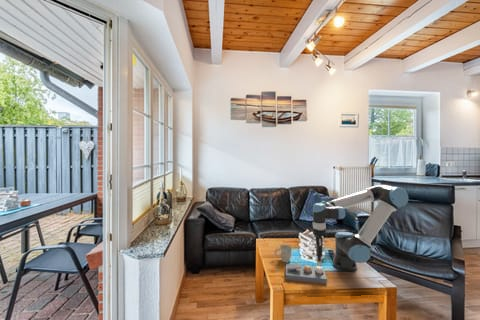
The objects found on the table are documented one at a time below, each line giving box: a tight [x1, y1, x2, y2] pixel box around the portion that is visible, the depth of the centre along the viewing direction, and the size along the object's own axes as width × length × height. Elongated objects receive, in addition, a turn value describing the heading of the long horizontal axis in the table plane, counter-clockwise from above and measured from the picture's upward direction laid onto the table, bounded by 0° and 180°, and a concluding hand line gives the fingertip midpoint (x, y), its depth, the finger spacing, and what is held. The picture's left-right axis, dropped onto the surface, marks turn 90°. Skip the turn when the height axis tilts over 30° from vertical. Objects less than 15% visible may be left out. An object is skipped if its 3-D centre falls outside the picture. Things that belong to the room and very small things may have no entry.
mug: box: [274, 244, 293, 263], centre depth 167 cm, size 8×13×10 cm, turn 78°
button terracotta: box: [303, 264, 312, 273], centre depth 145 cm, size 4×4×3 cm
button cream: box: [315, 265, 324, 275], centre depth 143 cm, size 4×4×3 cm
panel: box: [285, 263, 328, 285], centre depth 145 cm, size 24×14×4 cm, turn 78°
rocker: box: [288, 262, 302, 270], centre depth 147 cm, size 8×5×1 cm, turn 77°
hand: (319, 265), depth 143 cm, fingers closed
